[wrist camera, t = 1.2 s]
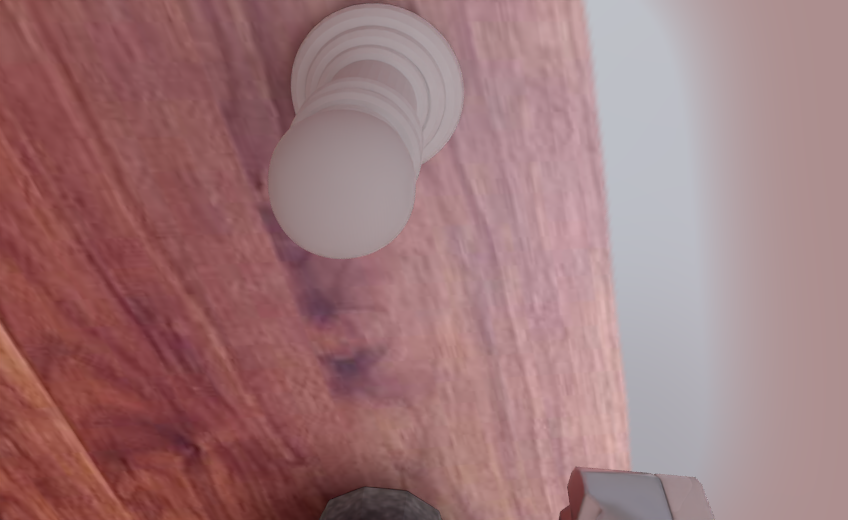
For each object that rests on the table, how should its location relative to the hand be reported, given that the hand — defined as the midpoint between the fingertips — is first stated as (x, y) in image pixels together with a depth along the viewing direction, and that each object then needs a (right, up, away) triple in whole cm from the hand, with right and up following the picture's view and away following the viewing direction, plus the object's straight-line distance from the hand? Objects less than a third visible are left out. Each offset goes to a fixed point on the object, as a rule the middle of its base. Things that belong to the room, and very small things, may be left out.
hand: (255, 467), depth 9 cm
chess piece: (+1, +8, +13) cm, 15 cm away
